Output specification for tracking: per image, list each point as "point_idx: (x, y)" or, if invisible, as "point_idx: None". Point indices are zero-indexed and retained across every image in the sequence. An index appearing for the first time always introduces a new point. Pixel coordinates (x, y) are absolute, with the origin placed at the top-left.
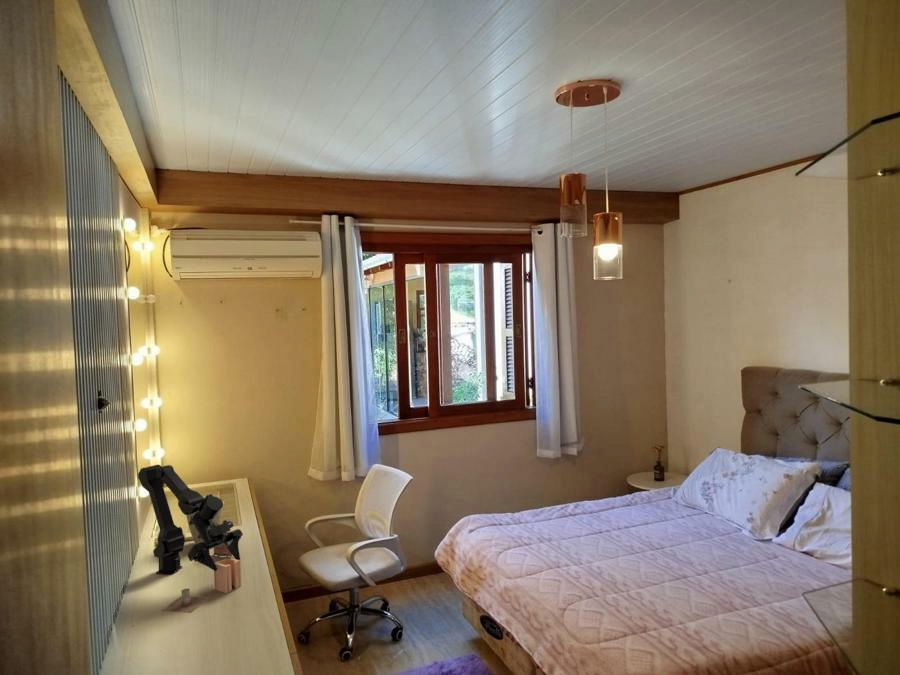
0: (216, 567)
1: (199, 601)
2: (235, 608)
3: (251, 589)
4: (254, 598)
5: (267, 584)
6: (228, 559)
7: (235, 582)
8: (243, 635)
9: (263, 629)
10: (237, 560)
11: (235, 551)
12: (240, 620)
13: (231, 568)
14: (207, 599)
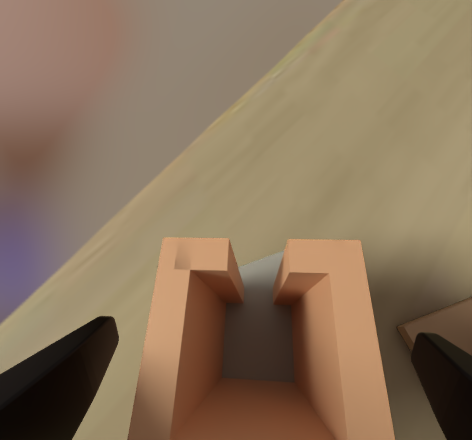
0: (438, 343)
1: (468, 342)
2: (356, 161)
3: (202, 235)
4: (259, 164)
5: (137, 213)
6: (173, 430)
7: (241, 285)
8: (433, 35)
9: (375, 25)
10: (173, 265)
11: (2, 432)
12: (393, 92)
13: (202, 355)
14: (419, 320)
